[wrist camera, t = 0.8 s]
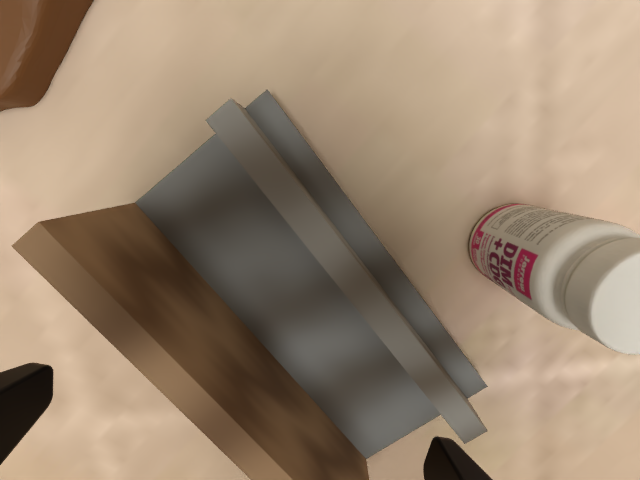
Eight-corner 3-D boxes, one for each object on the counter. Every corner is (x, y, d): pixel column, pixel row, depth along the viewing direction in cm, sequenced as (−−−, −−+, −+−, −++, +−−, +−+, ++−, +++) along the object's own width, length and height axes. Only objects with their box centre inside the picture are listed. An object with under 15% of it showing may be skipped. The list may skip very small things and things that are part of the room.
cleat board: (479, 376, 21) (557, 479, 14) (347, 456, 22) (358, 584, 15) (270, 93, 17) (235, 43, 10) (127, 216, 18) (11, 245, 11)
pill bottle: (453, 229, 18) (558, 280, 10) (527, 187, 18) (703, 205, 10) (486, 293, 19) (607, 387, 11) (558, 255, 19) (743, 324, 11)
